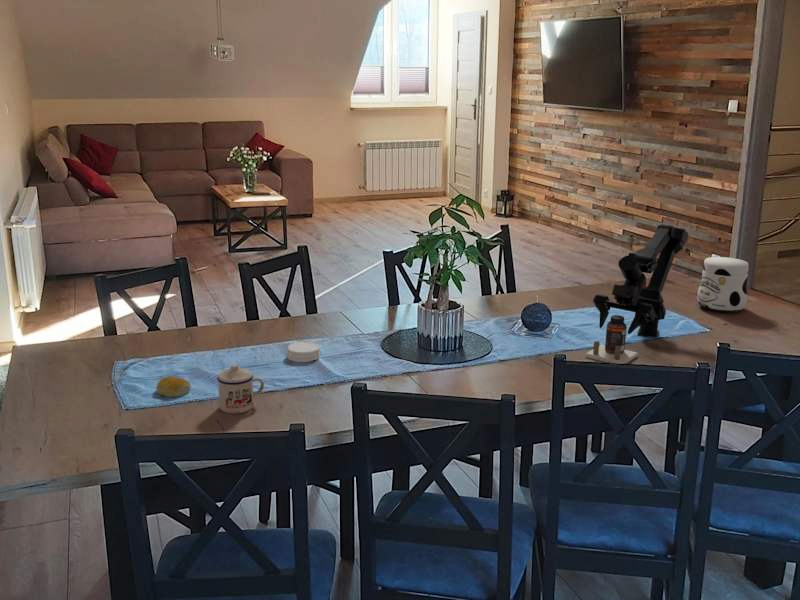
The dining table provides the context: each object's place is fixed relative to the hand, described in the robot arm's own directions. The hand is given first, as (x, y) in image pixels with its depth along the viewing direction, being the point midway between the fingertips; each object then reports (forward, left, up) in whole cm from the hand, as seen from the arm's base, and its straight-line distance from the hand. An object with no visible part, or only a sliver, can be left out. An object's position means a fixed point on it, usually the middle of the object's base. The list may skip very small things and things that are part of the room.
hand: (614, 330), depth 247 cm
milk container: (-68, +32, -9) cm, 76 cm away
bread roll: (+73, -109, -9) cm, 131 cm away
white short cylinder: (+36, -88, -9) cm, 96 cm away
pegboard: (0, 0, -9) cm, 9 cm away
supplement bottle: (-2, +1, -8) cm, 8 cm away
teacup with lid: (+75, -86, -9) cm, 115 cm away
